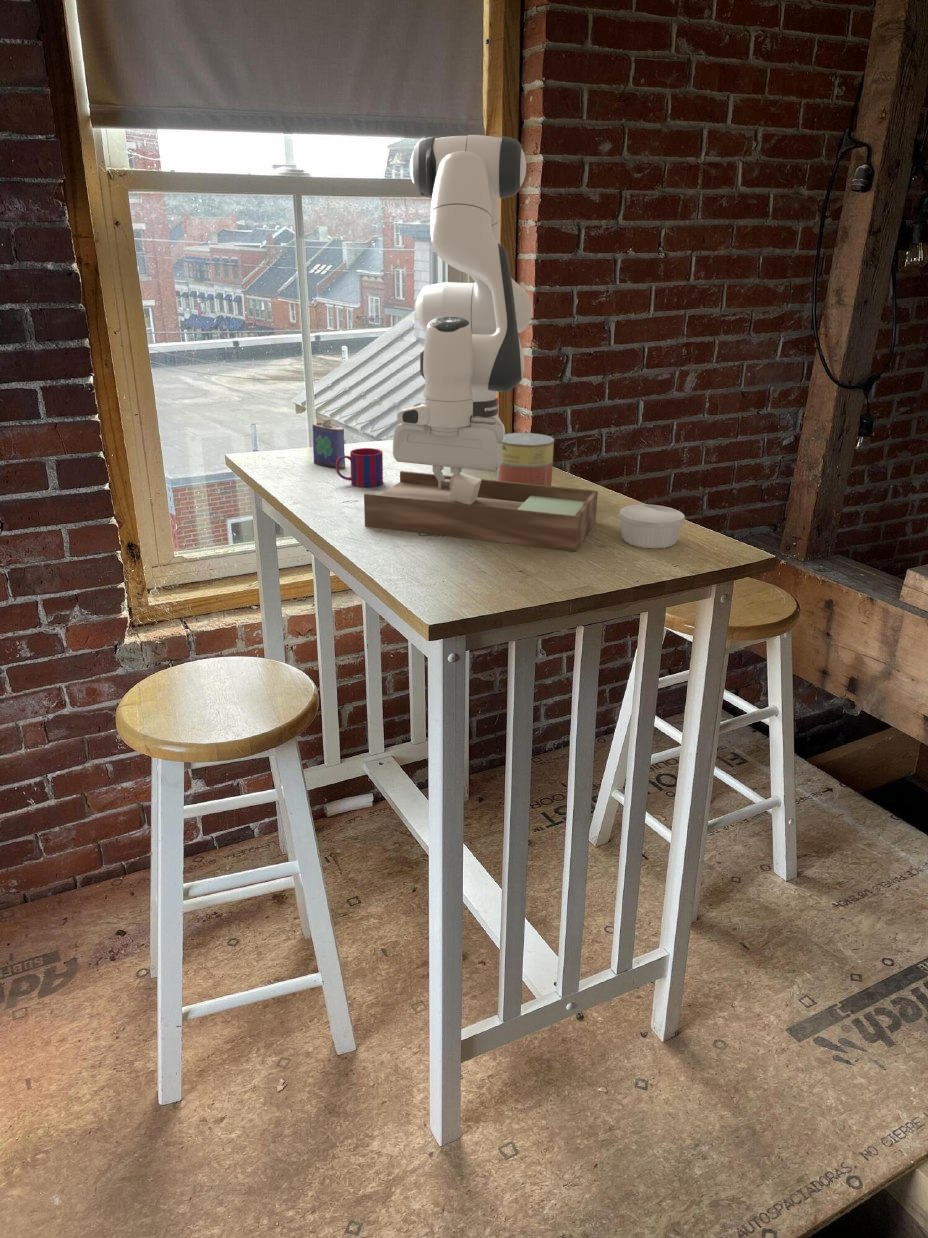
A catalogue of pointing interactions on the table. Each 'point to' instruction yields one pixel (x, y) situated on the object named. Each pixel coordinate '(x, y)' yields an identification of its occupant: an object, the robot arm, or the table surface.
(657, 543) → the ramekin
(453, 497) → the block
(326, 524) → the table surface
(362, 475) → the mug
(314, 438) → the flask
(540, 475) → the canned food
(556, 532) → the box
